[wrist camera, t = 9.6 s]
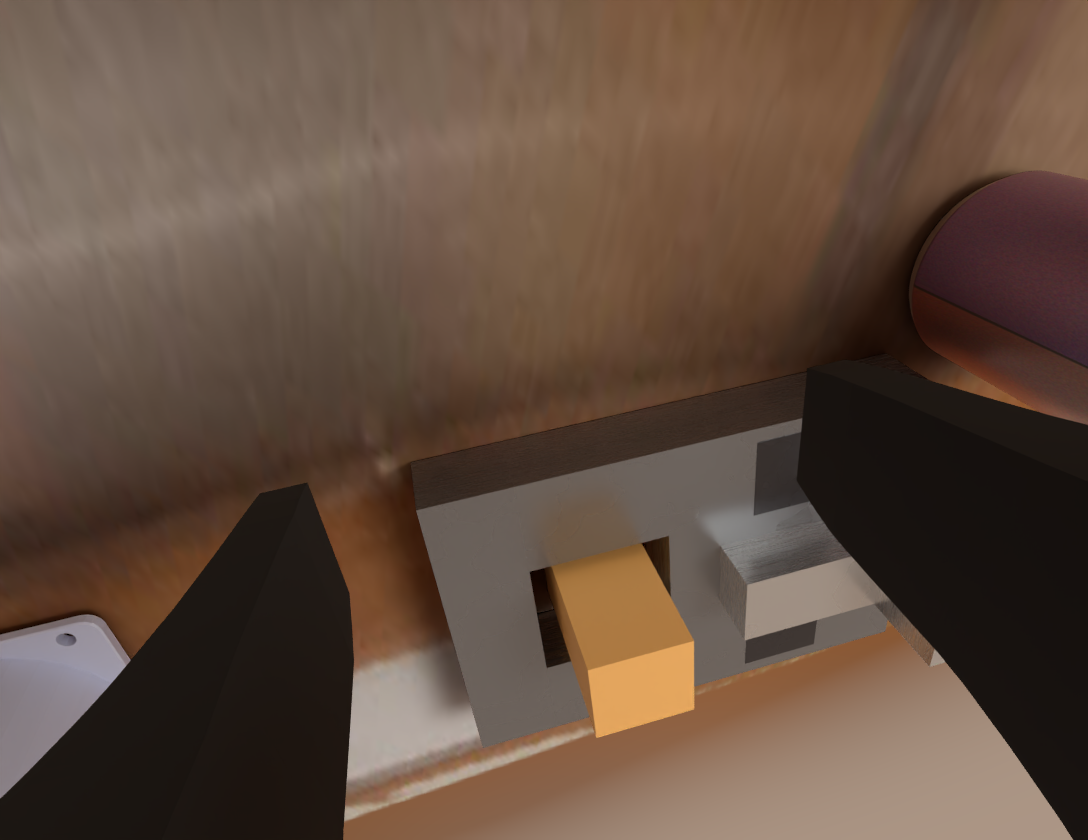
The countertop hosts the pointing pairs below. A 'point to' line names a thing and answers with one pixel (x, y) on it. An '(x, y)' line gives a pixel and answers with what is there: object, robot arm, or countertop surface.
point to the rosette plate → (616, 537)
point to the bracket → (801, 585)
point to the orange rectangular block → (623, 638)
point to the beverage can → (1012, 289)
